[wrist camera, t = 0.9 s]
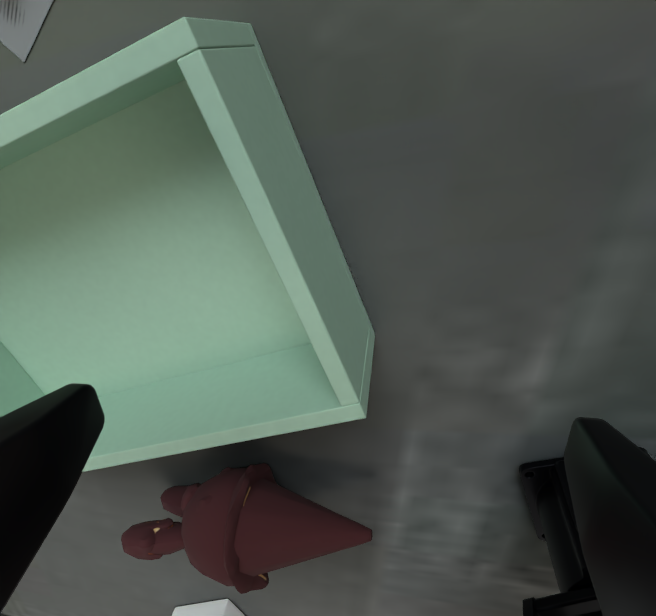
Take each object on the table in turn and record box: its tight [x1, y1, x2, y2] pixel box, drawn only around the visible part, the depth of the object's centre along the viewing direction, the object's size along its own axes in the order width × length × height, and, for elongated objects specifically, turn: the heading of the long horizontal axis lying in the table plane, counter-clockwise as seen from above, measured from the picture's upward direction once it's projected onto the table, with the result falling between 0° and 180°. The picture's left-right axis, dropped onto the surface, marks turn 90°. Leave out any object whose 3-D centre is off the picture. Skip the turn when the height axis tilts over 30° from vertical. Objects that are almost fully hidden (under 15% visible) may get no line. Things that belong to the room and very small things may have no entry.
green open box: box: [0, 17, 375, 472], centre depth 21 cm, size 15×22×6 cm
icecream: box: [121, 463, 372, 594], centre depth 28 cm, size 7×7×15 cm
